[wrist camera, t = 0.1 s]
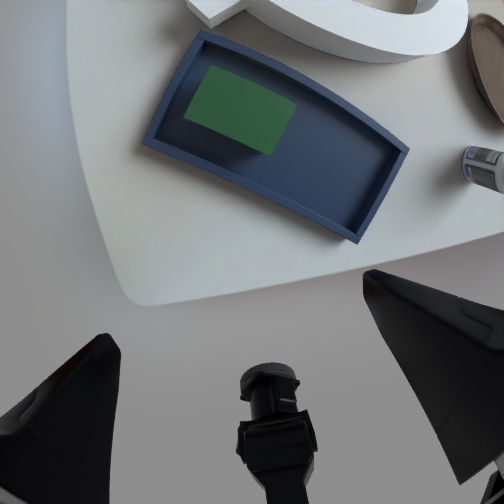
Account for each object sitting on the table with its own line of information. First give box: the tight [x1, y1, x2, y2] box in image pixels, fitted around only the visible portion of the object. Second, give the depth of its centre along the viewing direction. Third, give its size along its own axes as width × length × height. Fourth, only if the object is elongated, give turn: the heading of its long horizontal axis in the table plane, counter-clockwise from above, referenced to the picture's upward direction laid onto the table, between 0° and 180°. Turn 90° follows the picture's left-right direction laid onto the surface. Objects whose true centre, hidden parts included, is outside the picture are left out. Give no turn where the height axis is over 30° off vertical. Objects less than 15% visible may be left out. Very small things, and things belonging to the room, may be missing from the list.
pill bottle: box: [463, 146, 504, 194], centre depth 21 cm, size 5×5×8 cm
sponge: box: [183, 65, 297, 157], centre depth 20 cm, size 4×7×4 cm, turn 64°
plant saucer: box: [468, 13, 504, 125], centre depth 18 cm, size 18×18×3 cm
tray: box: [142, 30, 409, 244], centre depth 22 cm, size 11×22×2 cm, turn 64°
